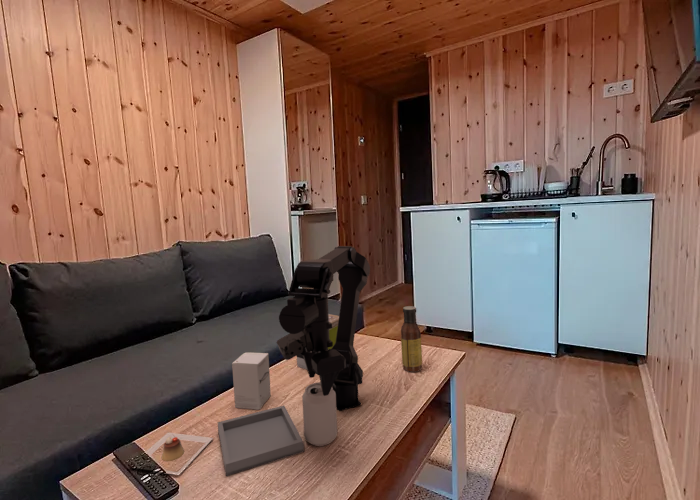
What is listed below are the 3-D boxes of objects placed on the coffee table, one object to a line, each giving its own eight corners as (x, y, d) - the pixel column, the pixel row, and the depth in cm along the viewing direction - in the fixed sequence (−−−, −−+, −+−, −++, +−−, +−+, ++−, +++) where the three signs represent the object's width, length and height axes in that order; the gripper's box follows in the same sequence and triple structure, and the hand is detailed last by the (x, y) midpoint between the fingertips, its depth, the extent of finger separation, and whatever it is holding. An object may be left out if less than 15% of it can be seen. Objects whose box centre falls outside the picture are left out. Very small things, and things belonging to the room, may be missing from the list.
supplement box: (260, 410, 97) (257, 364, 95) (234, 408, 98) (230, 362, 97) (271, 396, 104) (269, 352, 103) (247, 394, 106) (244, 351, 104)
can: (304, 429, 88) (302, 381, 87) (336, 426, 89) (334, 378, 87) (303, 449, 81) (301, 397, 79) (338, 446, 82) (336, 395, 80)
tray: (284, 414, 95) (284, 405, 94) (303, 451, 80) (303, 441, 80) (218, 432, 88) (217, 422, 88) (226, 476, 74) (225, 464, 73)
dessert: (213, 442, 85) (212, 422, 85) (179, 480, 74) (177, 457, 73) (168, 436, 88) (166, 417, 87) (127, 472, 76) (125, 450, 76)
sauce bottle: (425, 366, 119) (424, 306, 117) (417, 374, 114) (417, 311, 112) (406, 362, 123) (405, 303, 120) (398, 370, 118) (397, 308, 115)
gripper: (269, 312, 87) (273, 376, 89) (291, 338, 70) (295, 416, 72) (314, 306, 91) (317, 366, 93) (345, 328, 74) (348, 402, 76)
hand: (318, 385), depth 83 cm, fingers open, 9 cm apart
